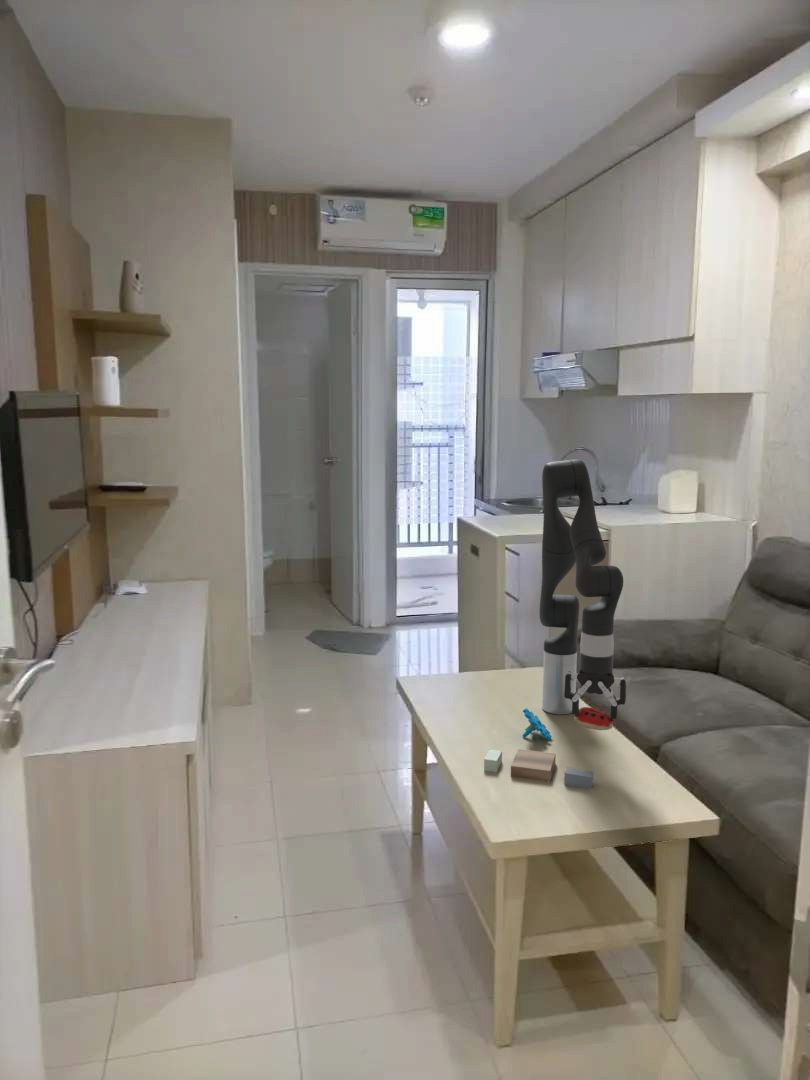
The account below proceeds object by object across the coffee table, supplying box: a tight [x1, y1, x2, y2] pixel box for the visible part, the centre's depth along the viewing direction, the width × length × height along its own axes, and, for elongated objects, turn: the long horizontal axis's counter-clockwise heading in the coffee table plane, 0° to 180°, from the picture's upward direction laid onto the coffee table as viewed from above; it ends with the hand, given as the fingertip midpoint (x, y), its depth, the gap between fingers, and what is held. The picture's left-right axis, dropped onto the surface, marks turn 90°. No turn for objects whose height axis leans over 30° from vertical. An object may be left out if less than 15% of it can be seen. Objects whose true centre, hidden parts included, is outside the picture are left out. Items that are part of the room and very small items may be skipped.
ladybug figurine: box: [573, 706, 614, 731], centre depth 188 cm, size 7×10×4 cm
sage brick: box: [483, 748, 503, 773], centre depth 190 cm, size 6×3×3 cm, turn 161°
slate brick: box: [563, 767, 595, 790], centre depth 181 cm, size 6×3×3 cm, turn 67°
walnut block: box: [510, 748, 556, 782], centre depth 188 cm, size 10×9×3 cm
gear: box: [521, 708, 553, 741], centre depth 207 cm, size 11×6×10 cm
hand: (594, 717), depth 187 cm, fingers closed on ladybug figurine, 7 cm apart
